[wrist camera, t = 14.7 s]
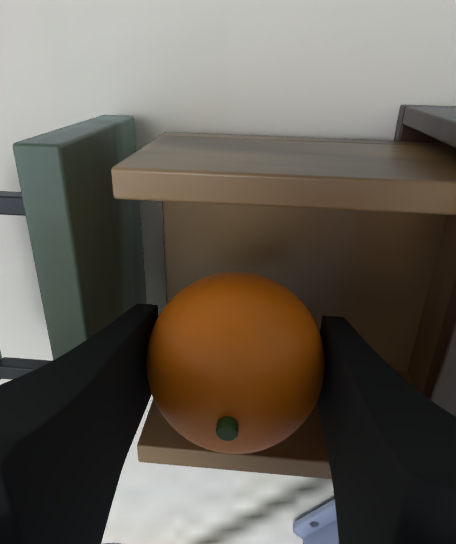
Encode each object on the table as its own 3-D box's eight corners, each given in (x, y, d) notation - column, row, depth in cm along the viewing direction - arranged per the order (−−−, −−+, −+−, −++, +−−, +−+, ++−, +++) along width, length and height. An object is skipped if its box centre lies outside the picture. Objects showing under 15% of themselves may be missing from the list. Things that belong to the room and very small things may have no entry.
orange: (243, 394, 15) (233, 532, 11) (138, 313, 14) (77, 429, 10) (347, 314, 14) (386, 438, 9) (236, 212, 12) (217, 297, 8)
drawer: (27, 351, 21) (-62, 456, 15) (-27, 110, 16) (-185, 134, 10) (412, 380, 20) (469, 506, 14) (480, 127, 15) (607, 166, 9)
